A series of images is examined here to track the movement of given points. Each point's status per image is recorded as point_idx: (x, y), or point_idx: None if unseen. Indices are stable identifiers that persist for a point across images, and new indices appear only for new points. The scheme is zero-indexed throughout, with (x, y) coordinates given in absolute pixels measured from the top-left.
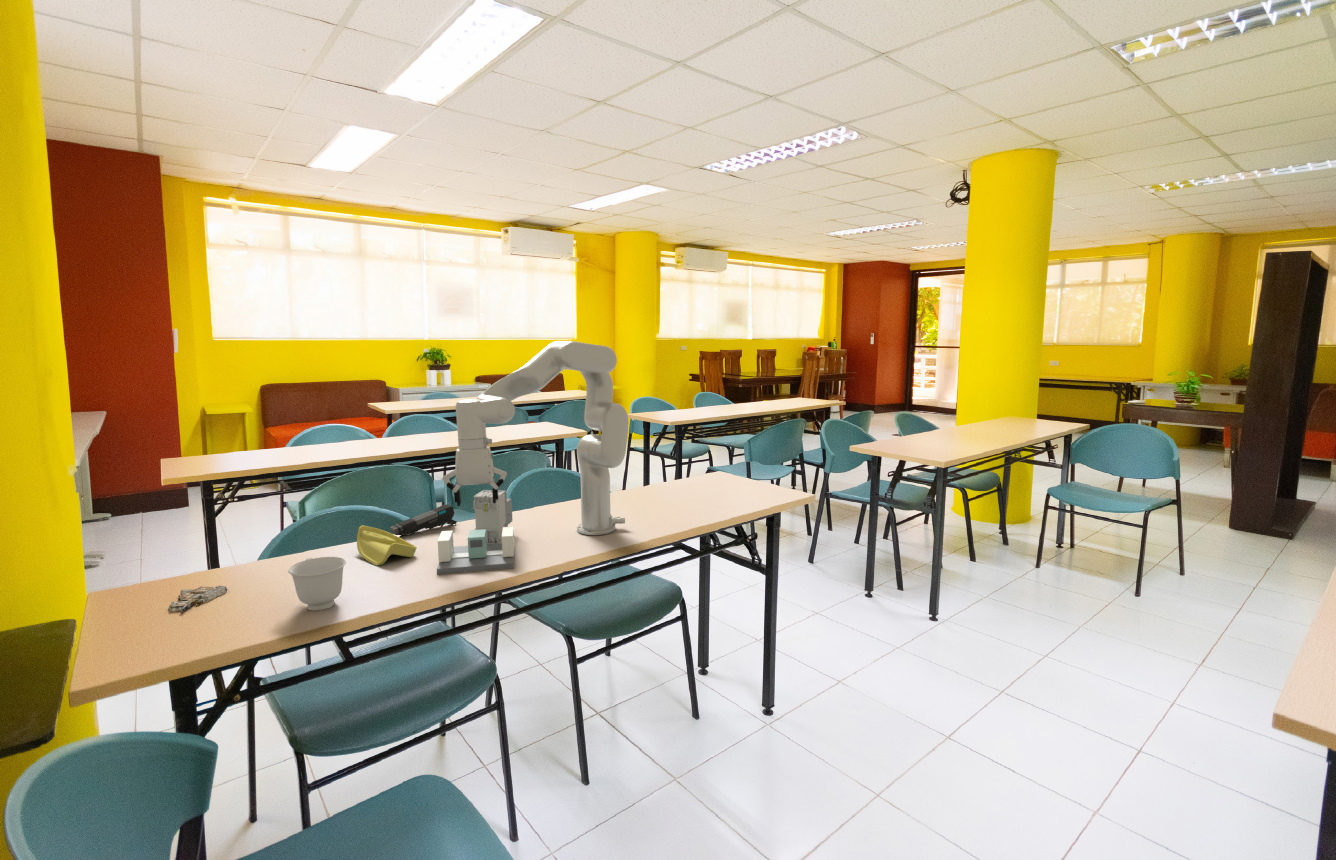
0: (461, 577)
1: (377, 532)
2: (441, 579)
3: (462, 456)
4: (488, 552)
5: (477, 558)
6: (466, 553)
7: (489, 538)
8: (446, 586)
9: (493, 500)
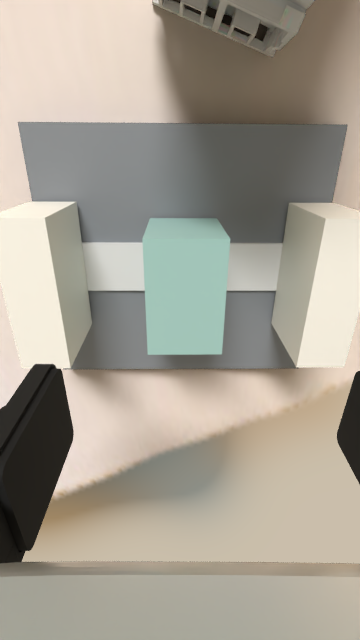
0: (144, 392)
1: None
2: (91, 395)
3: None
4: None
5: None
6: (137, 253)
7: (232, 26)
8: (115, 435)
9: (350, 458)
